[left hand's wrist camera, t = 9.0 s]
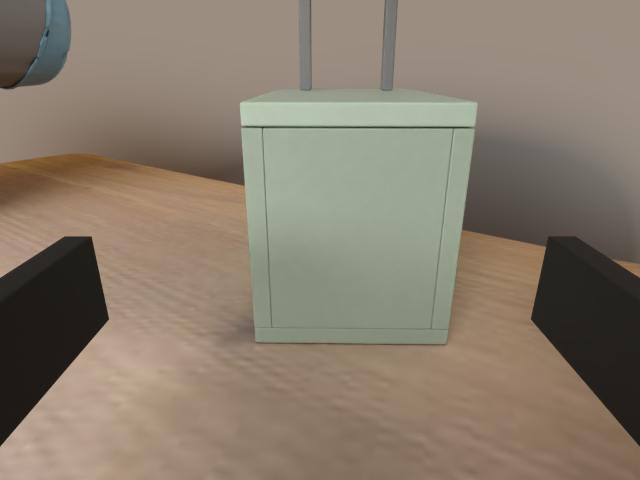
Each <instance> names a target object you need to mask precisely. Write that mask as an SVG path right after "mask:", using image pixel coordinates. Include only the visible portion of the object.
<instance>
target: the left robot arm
mask: <svg viewBox="0 0 640 480" xmlns="http://www.w3.org/2000/svg"><path fill="white" fill-rule="evenodd" d="M108 320H109V317H108V312H107V307H106V303H105V298H104V293H103V289H102V284H101V279H100V274H99V270H98V265H97V260H96V256H95V251H94V246H93V241H92V237H63V238H62V239H60V240H59V241H57V242H56V243H54V244H52V245H51V246H49V247H48V248H46V249H45V250H43V251H42V252H40V253H38V254H37V255H35V256H34V257H32V258H31V259H29V260H28V261H26V262H24V263H23V264H21V265H20V266H18V267H17V268H15V269H14V270H12V271H10V272H9V273H7V274H6V275H4V276H3V277H1V278H0V446H1V445H2V444H3V443H4V441H5V440H6V439H7V438H8V437H9V436H10V434H11V433H12V432H13V431H14V430H15V429H16V427H17V426H18V425H19V424H20V423H21V422H22V420H23V419H24V418H25V417H26V416H27V415H28V413H29V412H30V411H31V410H32V409H33V408H34V406H35V405H36V404H37V403H38V402H39V401H40V399H41V398H42V397H43V396H44V395H45V394H46V392H47V391H48V390H49V389H50V388H51V387H52V385H53V384H54V383H55V382H56V381H57V379H58V378H59V377H60V376H61V375H62V374H63V372H64V371H65V370H66V369H67V368H68V367H69V365H70V364H71V363H72V362H73V361H74V360H75V358H76V357H77V356H78V355H79V354H80V353H81V351H82V350H83V349H84V348H85V347H86V346H87V344H88V343H89V342H90V341H91V340H92V339H93V337H94V336H95V335H96V334H97V333H98V332H99V330H100V329H101V328H102V327H103V326H104V325H105V323H106V322H107V321H108ZM531 320H532V321H533V322H534V323H535V325H536V326H537V327H538V328H539V329H540V330H541V332H542V333H543V334H544V335H545V336H546V337H547V339H548V340H549V341H550V342H551V343H552V344H553V346H554V347H555V348H556V349H557V350H558V351H559V353H560V354H561V355H562V356H563V357H564V358H565V360H566V361H567V362H568V363H569V364H570V365H571V367H572V368H573V369H574V370H575V371H576V372H577V374H578V375H579V376H580V377H581V378H582V379H583V381H584V382H585V383H586V384H587V385H588V387H589V388H590V389H591V390H592V391H593V392H594V394H595V395H596V396H597V397H598V398H599V399H600V401H601V402H602V403H603V404H604V405H605V406H606V408H607V409H608V410H609V411H610V412H611V413H612V415H613V416H614V417H615V418H616V419H617V420H618V422H619V423H620V424H621V425H622V426H623V427H624V429H625V430H626V431H627V432H628V433H629V434H630V436H631V437H632V438H633V439H634V440H635V441H636V443H637V444H638V445H639V446H640V278H639V277H637V276H636V275H634V274H633V273H631V272H630V271H628V270H626V269H625V268H623V267H622V266H620V265H619V264H617V263H616V262H614V261H612V260H611V259H609V258H608V257H606V256H605V255H603V254H602V253H600V252H598V251H597V250H595V249H594V248H592V247H591V246H589V245H588V244H586V243H584V242H583V241H581V240H580V239H578V238H577V237H548V241H547V246H546V251H545V256H544V260H543V265H542V270H541V274H540V279H539V284H538V289H537V293H536V298H535V303H534V307H533V312H532V317H531Z"/></svg>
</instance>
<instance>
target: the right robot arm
mask: <svg viewBox="0 0 640 480" xmlns="http://www.w3.org/2000/svg"><path fill="white" fill-rule="evenodd" d="M70 42H71V22H70V15H69V10H68V6H67V3H66V0H0V88H4V89H14V88H16V87H21V86H33V85H41V84H44V83H47V82H49V81H51V80H52V79H53V78H55V77H56V76H57V75H58V74H59V72H60V71H61V70H62V68H63V66H64V64H65V62H66V58H67V53H68V51H69V48H70Z"/></svg>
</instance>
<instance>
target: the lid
mask: <svg viewBox="0 0 640 480" xmlns="http://www.w3.org/2000/svg"><path fill="white" fill-rule="evenodd" d="M397 5H398V0H385V11H384V30H383V50H382V70H381V89H312V87H311V0H299V36H300V89H279V90H276V91H273V92H270V93H267V94H264V95H261V96H258V97H255V98H252V99H249V100H246V101H243V102H241V103H240V114H241V125H242V126H244V127H474V126H475V124H476V116H477V109H478V103H476V102H472V101H467V100H462V99H457V98H452V97H447V96H442V95H436V94H431V93H426V92H421V91H416V90H411V89H393V72H394V55H395V38H396V22H397Z"/></svg>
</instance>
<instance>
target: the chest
mask: <svg viewBox="0 0 640 480" xmlns="http://www.w3.org/2000/svg"><path fill="white" fill-rule="evenodd" d="M241 132H242V147H243V163H244V178H245V193H246V208H247V224H248V239H249V254H250V269H251V285H252V300H253V315H254V327H255V328H254V330H255V342H266V343H359V344H447V340H448V332H449V330H448V329H449V324H450V316H451V309H452V301H453V294H454V286H455V278H456V271H457V263H458V255H459V248H460V240H461V233H462V225H463V217H464V210H465V202H466V195H467V187H468V179H469V172H470V164H471V157H472V149H473V141H474V134H475V129H473V128H471V127H243V128H242V129H241Z"/></svg>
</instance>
